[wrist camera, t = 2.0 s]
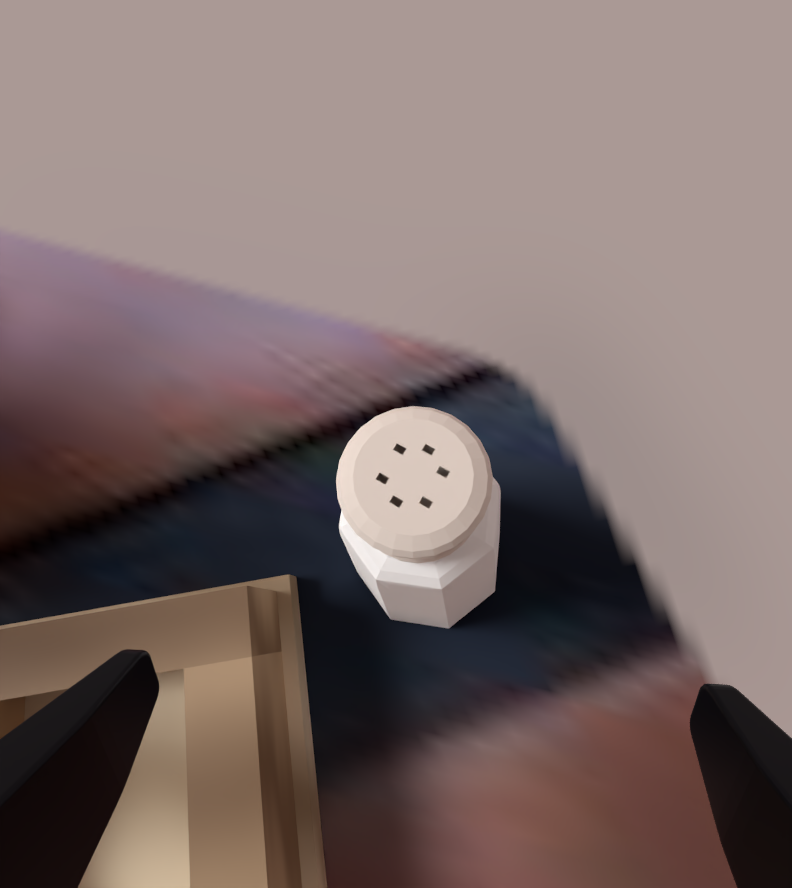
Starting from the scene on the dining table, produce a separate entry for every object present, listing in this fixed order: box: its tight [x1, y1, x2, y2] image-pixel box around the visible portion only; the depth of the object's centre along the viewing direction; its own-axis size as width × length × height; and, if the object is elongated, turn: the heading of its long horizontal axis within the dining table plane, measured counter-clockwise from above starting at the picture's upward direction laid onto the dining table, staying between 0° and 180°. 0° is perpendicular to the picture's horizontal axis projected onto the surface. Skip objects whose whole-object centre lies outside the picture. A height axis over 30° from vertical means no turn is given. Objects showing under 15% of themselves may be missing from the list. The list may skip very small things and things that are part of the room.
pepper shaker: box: [336, 406, 501, 628], centre depth 15 cm, size 5×5×11 cm
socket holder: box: [0, 574, 327, 888], centre depth 16 cm, size 12×12×4 cm
